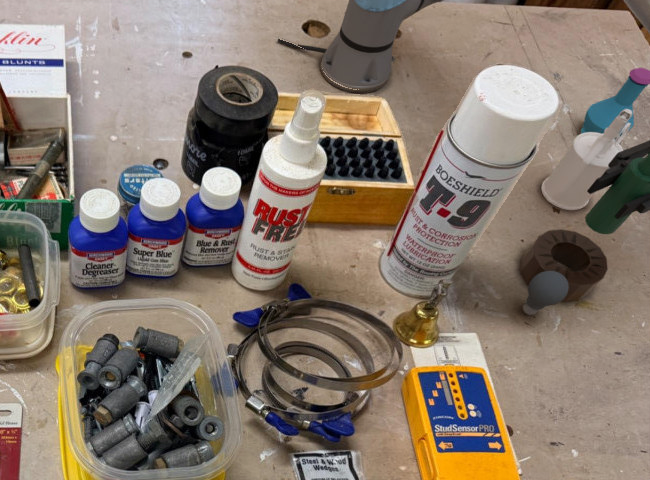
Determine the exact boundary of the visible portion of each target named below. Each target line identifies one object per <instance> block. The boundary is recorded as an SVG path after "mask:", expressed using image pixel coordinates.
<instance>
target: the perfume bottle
mask: <svg viewBox="0 0 650 480" xmlns="http://www.w3.org/2000/svg"><path fill="white" fill-rule="evenodd" d="M628 74H629V75H628V77H627V80H626V81H625V82H624V84H623V85H622V86H621V88H620V89H619V90H618V92H617V93H616V94H615V95H614V96H611V97H608V98H605V99H602V100H600V101H597V102H595V103H593V104H590V106H589V107H588V109H587V110H586V113H585V115H584V116H585V117H584V121H583V122H582V128H581V130H580V134H582V133H586V132H596V133H601V134H603V133H604V130H606V129H607V128H608V127H609V126H610V125H611V123H612V122H613V121H614V119H615V118H616V117H618V115H619V114H620V113H621V112H622V111H623V110H625V109H629V110H631V111H632V116H631V118H630V119H629V120H628V121H627V123H631V126H630V128H629V130H628V132H630V131H631V130H632V128H633V127H634V125H635V120H634V106H633V105H634V102H635V101H636V100H637V99H638V97H640V95H641V94H642V93H643V91H644V90H645V88H647V87H648V86H649V85H650V69H648V68H645V67H637V68H632V69H631V70H630V71H629V73H628ZM627 123H626V124H627ZM626 124H625V125H626ZM623 128H624V127H623ZM623 128H622V129H623ZM622 129H621V130H622ZM620 132H621V131H620ZM620 132H619V133H620ZM623 133H624V132H623ZM623 133H621V134H620V137H621V136H622V134H623ZM617 137H618V136H617ZM617 137H616V138H617ZM616 138H614V139H615V140H616Z"/></svg>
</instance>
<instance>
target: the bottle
mask: <svg viewBox="0 0 650 480" xmlns="http://www.w3.org/2000/svg"><path fill="white" fill-rule="evenodd" d="M648 193H650V153H649V154H647V155H646V156H644V157H642V158H636V159H633V160H632V162H631V163H630V164H629V165H628V166H627V167H626V169H625V170H624V171H623V172H622V173H621V175H620V176H619V177H618V178H617V179H616V181H615V182H614V183H613V184H612V185H610V186H609V187H608V189H607V190H606V191H605V192H604V193H603V195H601V196H600V198H599V199H598V201H596V203H595V204H594V205H593V206H592V207H591V209H590V210H589V212H588V213H587V214H586V215H585V218H584V220H585V224H586V225H587V227H588V228H589V229H590V230H591V231H593V232H595V233H597V234H600V235H611V234H614V233H615V232H616V231H617V230H618V229H619V228H620V227H621V226H622V225H623V224H624V223H625V221H627V219H628V218H630V216H631V215H632V214H633V213H631V214H628V215H626V216H624V217H622V218H620V219H617V218H616V217H615V215H616V214H617V212H618V211H619V210H620V209H621V208H622V207H623V206H624V205H625V204H626V203H628V202H631V201H633V200H635V199H637V198H640V197H642V196H644V195H646V194H648Z"/></svg>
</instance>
